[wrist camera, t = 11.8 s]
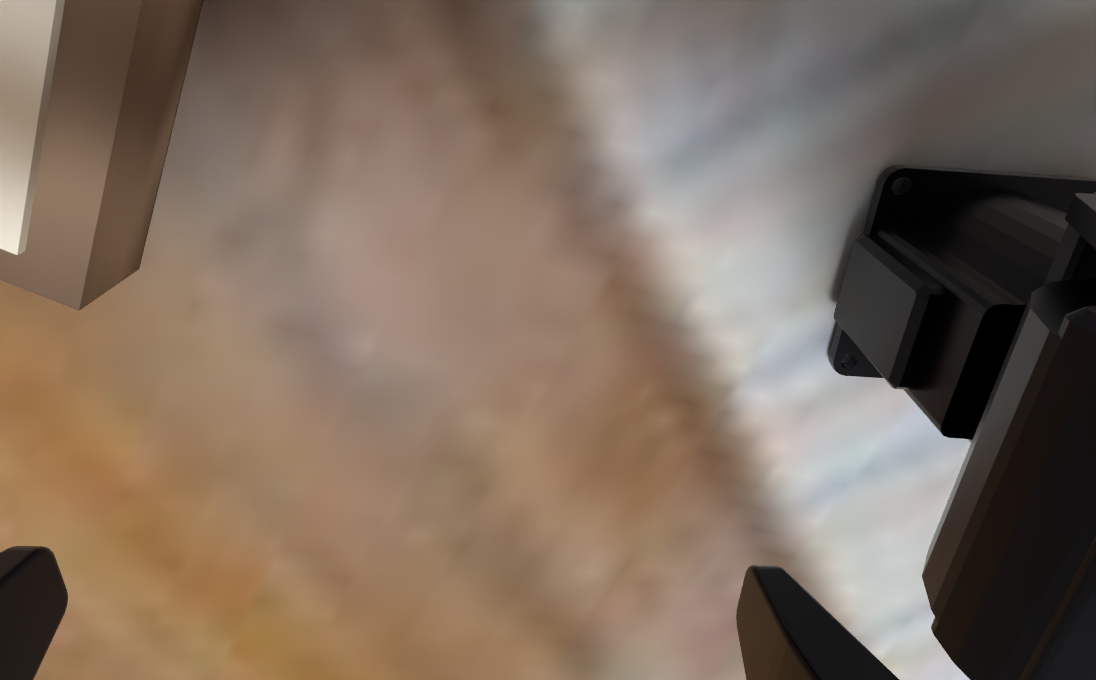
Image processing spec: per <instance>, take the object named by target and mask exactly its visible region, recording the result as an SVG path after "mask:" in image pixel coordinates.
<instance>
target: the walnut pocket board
mask: <svg viewBox="0 0 1096 680" xmlns="http://www.w3.org/2000/svg"><path fill="white" fill-rule="evenodd" d="M202 1H203V0H0V280H2V281H4V282H7V283H10V284H12V285H15V286H17V287H20V288H22V289H25V290H28V291H30V292H33V293H35V294H38V295H40V296H43V297H46V298H48V299H51V300H53V301H56V302H58V303H61V304H64V305H66V306H69V307H71V308H74V309H76V310H81V309H82V308H84V307H85V306H86V305H88V304H89V303H91V302H92V301H94V300H95V299H97V298H98V297H99V296H101V295H102V294H104V293H105V292H107V291H108V290H110V289H111V288H112V287H114V286H115V285H117V284H118V283H120V282H121V281H122V280H124V279H125V278H127V277H128V276H130V275H131V274H133V273H134V272H135V271H137V270H138V269H139V266H140V262H141V257H142V253H143V249H144V245H145V240H146V236H147V232H148V228H149V224H150V219H151V215H152V211H153V207H154V203H155V198H156V194H157V190H158V186H159V182H160V177H161V173H162V169H163V165H164V161H165V156H166V152H167V148H168V144H169V140H170V135H171V131H172V127H173V123H174V119H175V114H176V110H177V106H178V102H179V98H180V93H181V89H182V85H183V81H184V77H185V72H186V68H187V64H188V60H189V56H190V51H191V47H192V43H193V39H194V35H195V30H196V26H197V22H198V18H199V14H200V9H201V5H202Z"/></svg>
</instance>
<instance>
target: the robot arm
mask: <svg viewBox="0 0 1096 680" xmlns="http://www.w3.org/2000/svg"><path fill="white" fill-rule="evenodd" d="M901 177H904V185H903V186H902V188H901V189H899V190H898V191H894V192H893V191H892V185H893V183H894V181H895V180H897V179H898V178H901ZM1094 192H1096V179H1095V178H1083V177H1069V176H1054V175H1040V174H1026V173H1012V172H998V171H983V170H969V169H955V168H941V167H927V166H912V165H894V166H891V167H889V168H887V169H886V170H885V171H884V172H883V173H882V174H881V175H880V177H879V179H878V182H877V185H876V189H875V192H874V196H873V199H872V203H871V207H870V210H869V214H868V217H867V221H866V224H865V228H864V231H863V235H861V236H860V237H859V238H858V239H857V240H856V241H855V242H854V244H853V248H852V251H851V255H850V258H849V262H848V266H847V269H846V273H845V276H844V280H843V284H842V287H841V291H840V295H839V298H838V302H837V305H836V309H835V313H834V319H835V320H836V321H837V322H838V324H837V328H836V331H835V335H834V338H833V342H832V346H831V349H830V353H829V362H830V364H831V366H832V367H833V368H834V370H835V371H836V372H837V373H839V374H841V375H845V376H860V377H876V378H885V380H886V381H887V382H888V383H889V384H890V386H891V387H893V388H894V389H904V391H905V392H906V393H907V394H908V395H909V396H910V398H911V399H912V400H913V401H914V402H915V403H916V404H917V406H918V407H919V408H920V409H921V410H922V411H923V413H924V414H925V415H926V416H927V417H928V418H929V419H930V421H931V422H932V423H933V424H934V425H935V426H936V428H937V429H938V430H939V431H940V432H941V433H942V434H943V436H946V437H949V438H964V439H968V440H969V441H970V442H971V445H970V448H969V450H968V452H967V455H966V457H965V460H964V462H963V465H962V467H961V470H960V472H959V475H958V477H957V480H956V482H955V485H954V487H953V490H952V492H951V495H950V497H949V500H948V502H947V505H946V507H945V510H944V512H943V515H942V517H941V520H940V522H939V525H938V527H937V530H936V532H935V535H934V537H933V540H932V542H931V545H930V547H929V550H928V554H927V558H926V562H925V566H924V570H923V574H922V578H923V581H924V585H925V588H926V592H927V596H928V599H929V603H930V607H931V610H932V612H933V614H934V615H935V619H934V621H933V624H932V627H931V628H932V631H933V634H934V635H935V637H936V638H937V640H938V641H939V643H940V644H941V645H942V647H943V648H944V650H945V651H946V652H947V654H948V655H949V657H950V658H951V660H952V661H953V662H954V663H955V664H956V666H957V667H958V668H959V669H960V670H961V671H962V672H963V673H964V674H965V675H966V676H967V677H968V678H969V679H970V680H1096V194H1093V193H1094ZM850 354H853V356H852V358H851V360H849V361H848V362H844V363H842V362H841V360H842V359H843V357H845V356H846V355H850ZM67 602H68V593H67V589H66V586H65V584H64V581H63V578H62V575H61V572H60V570H59V567H58V564H57V561H56V558H55V556H54V554H53V552H52V551H51V550H50V549H49V548H46V547H42V546H15V547H11V548H8V549H6V550H4V551H3V552H1V553H0V680H33V679H34V677H35V675H36V673H37V671H38V669H39V667H40V664H41V662H42V660H43V658H44V656H45V654H46V652H47V650H48V647H49V645H50V643H51V641H52V639H53V637H54V635H55V633H56V630H57V628H58V626H59V624H60V622H61V620H62V618H63V616H64V613H65V610H66V607H67ZM736 620H737V629H738V635H739V641H740V646H741V652H742V657H743V663H744V668H745V674H746V679H747V680H899V679H898V678H897V677H896V676H895V675H894V674H893V673H892V672H891V671H890V670H888V669H887V668H886V667H885V666H884V665H883V664H882V663H881V662H880V661H879V660H878V659H877V658H876V657H875V656H874V655H873V654H872V653H871V652H870V651H869V650H868V649H867V648H866V647H864V646H863V645H862V644H861V643H860V642H859V641H858V640H857V639H856V638H855V637H854V636H853V635H852V634H851V633H850V632H849V631H848V630H847V629H846V628H845V627H844V626H843V625H842V624H840V623H839V622H838V621H837V620H836V619H835V618H834V617H833V616H832V615H831V614H830V613H829V612H828V611H827V610H826V609H825V608H824V607H823V606H822V605H821V604H820V603H819V602H818V601H816V600H815V599H814V598H813V597H812V596H811V595H810V594H809V593H808V592H807V591H806V590H805V589H804V588H803V587H802V586H801V585H800V584H799V583H798V582H797V581H796V580H795V579H794V578H792V577H791V576H790V575H789V574H788V573H787V572H786V571H785V570H784V569H783V568H781V567H779V566H771V565H752V566H750V567H749V568H748V569H747V571H746V574H745V578H744V582H743V586H742V590H741V594H740V598H739V603H738V607H737V614H736Z"/></svg>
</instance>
